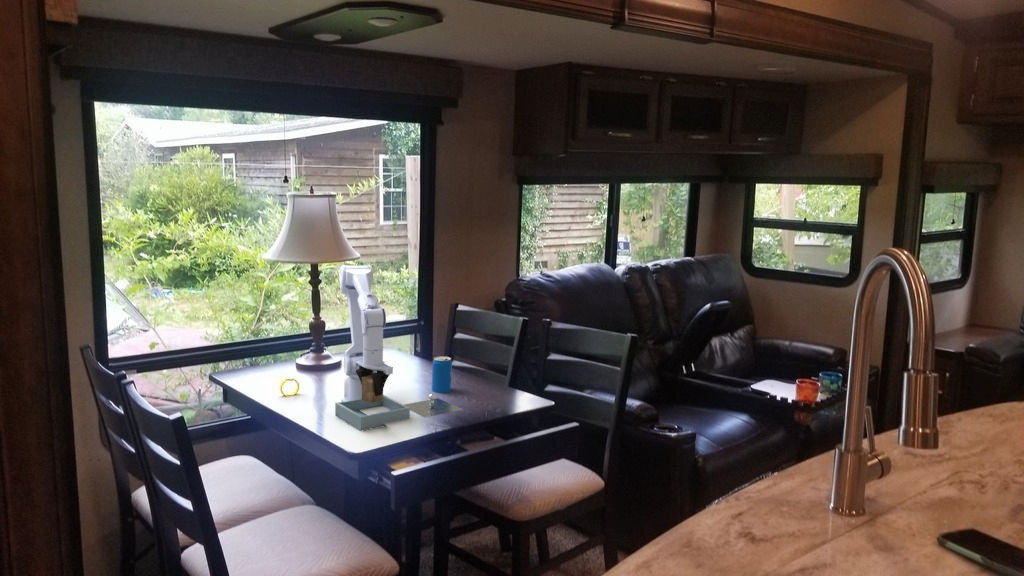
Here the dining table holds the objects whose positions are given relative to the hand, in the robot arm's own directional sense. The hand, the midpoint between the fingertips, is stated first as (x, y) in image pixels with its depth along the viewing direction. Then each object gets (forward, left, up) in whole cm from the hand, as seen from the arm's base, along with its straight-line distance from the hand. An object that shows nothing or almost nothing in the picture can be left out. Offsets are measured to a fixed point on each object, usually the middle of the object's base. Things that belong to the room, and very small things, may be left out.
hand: (372, 393), depth 218 cm
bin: (0, 0, -8) cm, 8 cm away
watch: (-35, -11, -8) cm, 38 cm away
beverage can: (-11, +32, -8) cm, 35 cm away
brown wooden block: (0, 0, -2) cm, 2 cm away
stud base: (+3, +19, -8) cm, 21 cm away
